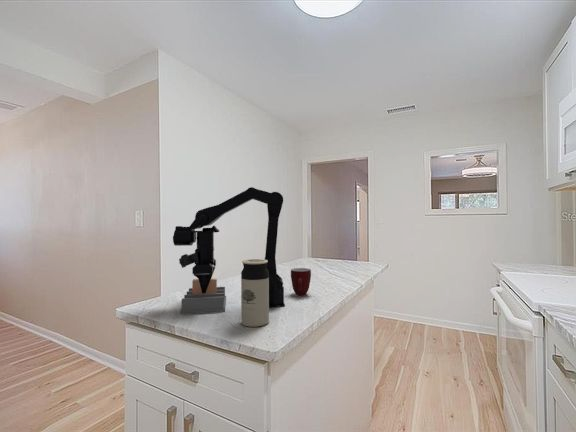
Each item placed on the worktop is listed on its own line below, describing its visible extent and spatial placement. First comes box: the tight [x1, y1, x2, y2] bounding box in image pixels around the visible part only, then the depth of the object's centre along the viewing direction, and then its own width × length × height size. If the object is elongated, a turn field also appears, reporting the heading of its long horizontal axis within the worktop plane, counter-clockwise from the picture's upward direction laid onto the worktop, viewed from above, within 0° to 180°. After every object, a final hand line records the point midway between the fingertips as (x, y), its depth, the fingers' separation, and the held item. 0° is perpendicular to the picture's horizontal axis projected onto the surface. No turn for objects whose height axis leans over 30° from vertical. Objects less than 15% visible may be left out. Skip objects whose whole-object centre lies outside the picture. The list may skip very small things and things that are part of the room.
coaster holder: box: [179, 286, 227, 315], centre depth 101 cm, size 14×16×5 cm
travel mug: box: [240, 258, 270, 328], centre depth 84 cm, size 8×8×18 cm
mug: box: [290, 267, 312, 297], centre depth 114 cm, size 11×8×10 cm
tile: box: [191, 277, 218, 294], centre depth 101 cm, size 8×2×8 cm, turn 101°
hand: (205, 290), depth 101 cm, fingers open, 9 cm apart
